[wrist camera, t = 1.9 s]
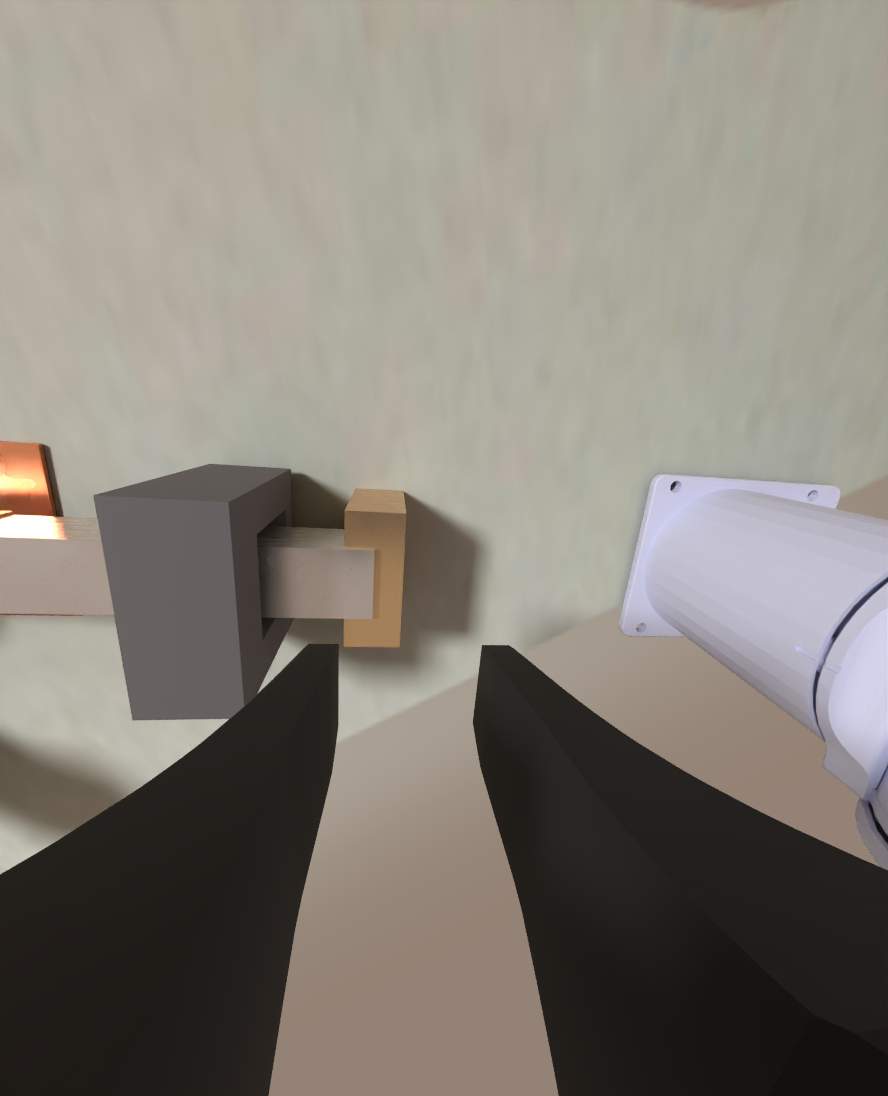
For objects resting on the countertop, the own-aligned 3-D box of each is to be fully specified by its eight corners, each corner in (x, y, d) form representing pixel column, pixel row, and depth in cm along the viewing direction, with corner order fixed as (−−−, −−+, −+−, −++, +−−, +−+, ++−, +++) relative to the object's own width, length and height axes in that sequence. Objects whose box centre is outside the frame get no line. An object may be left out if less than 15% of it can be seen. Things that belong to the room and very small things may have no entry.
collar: (290, 468, 16) (228, 501, 10) (295, 614, 18) (244, 718, 12) (209, 463, 16) (93, 495, 10) (223, 613, 18) (132, 720, 12)
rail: (404, 467, 17) (408, 485, 13) (397, 618, 19) (398, 676, 15) (-234, 426, 14) (-502, 431, 10) (-162, 609, 16) (-359, 679, 12)
